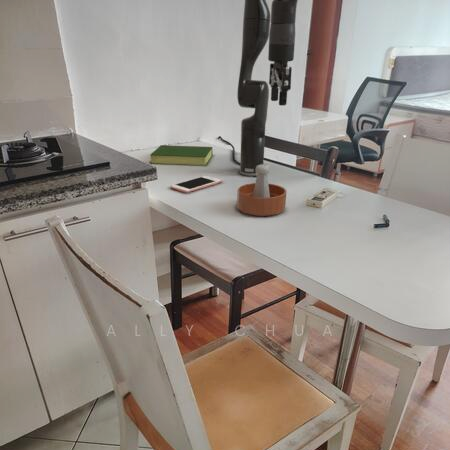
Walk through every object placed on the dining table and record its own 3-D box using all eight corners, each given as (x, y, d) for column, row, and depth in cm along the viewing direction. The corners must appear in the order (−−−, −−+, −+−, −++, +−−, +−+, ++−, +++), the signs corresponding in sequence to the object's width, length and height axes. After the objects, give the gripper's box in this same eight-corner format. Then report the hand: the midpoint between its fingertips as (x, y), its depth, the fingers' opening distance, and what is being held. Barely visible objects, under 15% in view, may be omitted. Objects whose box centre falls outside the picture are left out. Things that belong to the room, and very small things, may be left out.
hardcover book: (212, 155, 191) (212, 146, 189) (205, 165, 175) (205, 156, 173) (160, 153, 194) (159, 145, 192) (149, 163, 178) (148, 154, 176)
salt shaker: (257, 211, 128) (259, 168, 121) (248, 205, 132) (249, 164, 125) (273, 208, 130) (276, 166, 123) (263, 202, 134) (266, 162, 127)
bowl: (232, 202, 136) (233, 184, 133) (276, 199, 139) (278, 181, 136) (243, 219, 124) (243, 199, 121) (291, 215, 126) (293, 196, 123)
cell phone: (221, 182, 155) (221, 179, 154) (186, 193, 144) (186, 190, 143) (205, 177, 160) (205, 175, 159) (170, 188, 149) (169, 185, 148)
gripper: (262, 41, 125) (260, 100, 134) (276, 43, 114) (273, 107, 123) (286, 41, 126) (282, 99, 136) (302, 43, 115) (297, 106, 124)
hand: (278, 103), depth 129 cm, fingers open, 8 cm apart
